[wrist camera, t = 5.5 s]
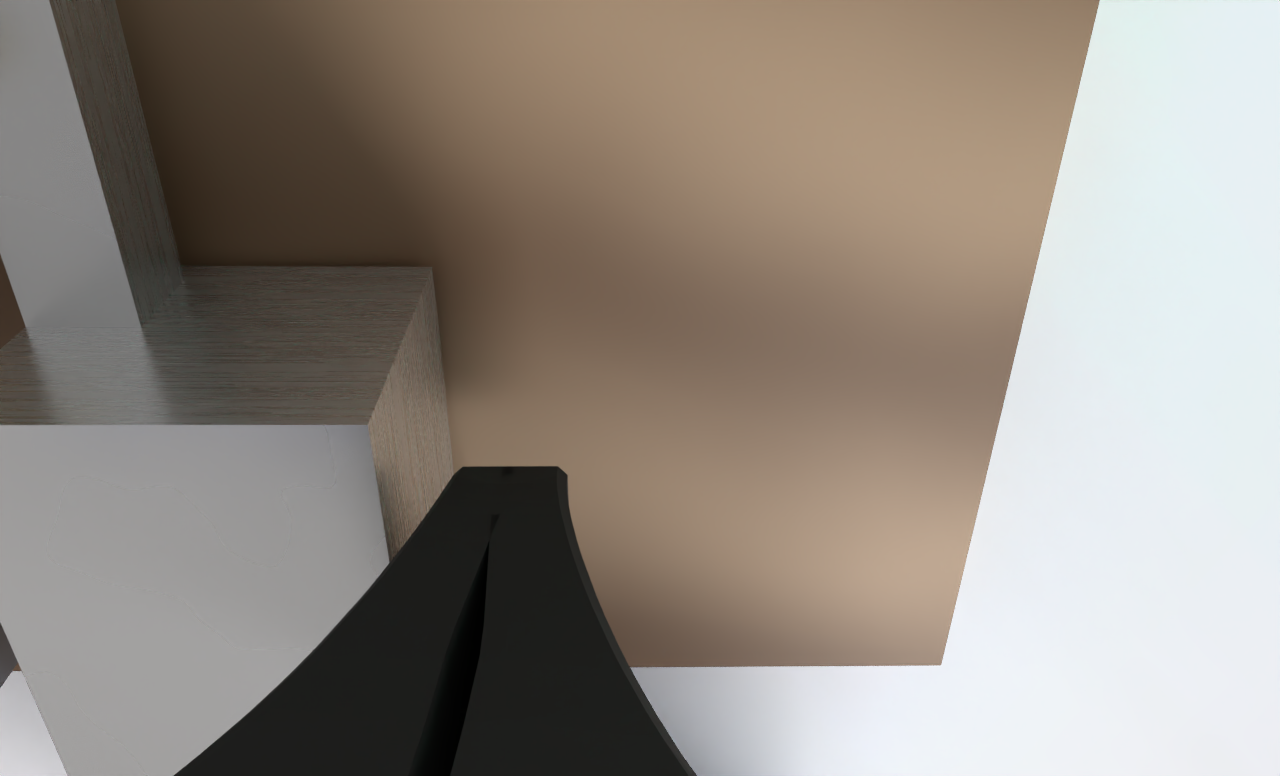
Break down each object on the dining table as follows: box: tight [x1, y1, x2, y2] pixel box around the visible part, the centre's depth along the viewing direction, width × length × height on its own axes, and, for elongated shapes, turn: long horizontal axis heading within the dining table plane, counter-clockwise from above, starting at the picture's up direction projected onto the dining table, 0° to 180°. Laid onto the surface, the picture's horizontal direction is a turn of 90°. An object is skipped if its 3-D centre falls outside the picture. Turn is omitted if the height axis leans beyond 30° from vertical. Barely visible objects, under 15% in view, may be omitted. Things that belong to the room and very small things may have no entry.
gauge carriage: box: [0, 0, 454, 776], centre depth 10 cm, size 9×4×4 cm, turn 179°
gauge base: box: [0, 0, 1100, 688], centre depth 11 cm, size 13×15×5 cm
